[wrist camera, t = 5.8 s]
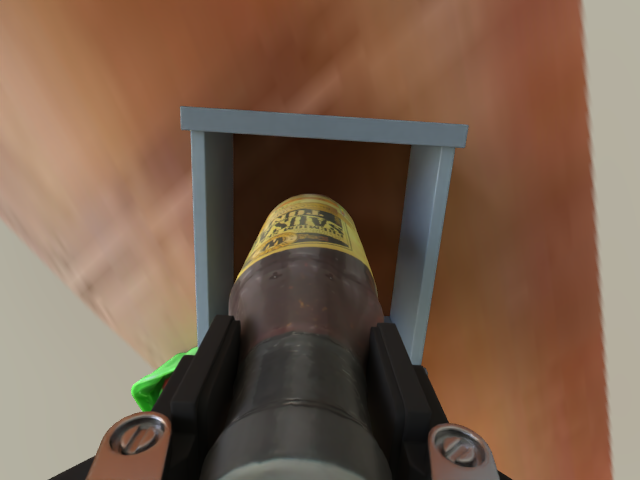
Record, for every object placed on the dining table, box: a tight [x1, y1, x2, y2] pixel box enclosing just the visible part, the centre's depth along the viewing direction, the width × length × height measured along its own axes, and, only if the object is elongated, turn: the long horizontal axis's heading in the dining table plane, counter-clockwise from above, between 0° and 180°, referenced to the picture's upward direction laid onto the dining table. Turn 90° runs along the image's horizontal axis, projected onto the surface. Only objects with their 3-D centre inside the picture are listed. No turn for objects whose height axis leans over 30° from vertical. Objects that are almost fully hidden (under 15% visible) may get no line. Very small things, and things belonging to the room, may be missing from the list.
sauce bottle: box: [199, 194, 392, 480], centre depth 16 cm, size 6×6×20 cm
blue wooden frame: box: [180, 106, 469, 376], centre depth 25 cm, size 15×16×8 cm
